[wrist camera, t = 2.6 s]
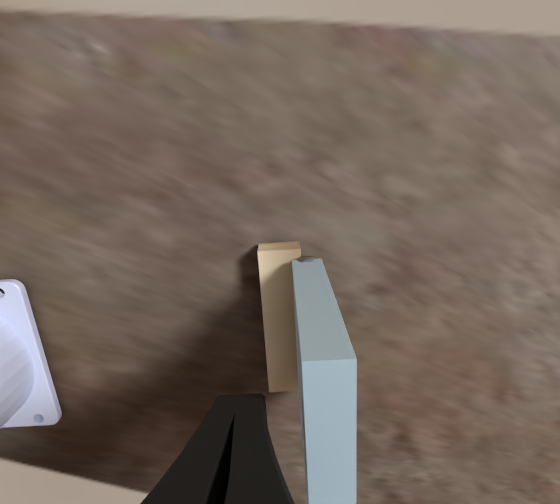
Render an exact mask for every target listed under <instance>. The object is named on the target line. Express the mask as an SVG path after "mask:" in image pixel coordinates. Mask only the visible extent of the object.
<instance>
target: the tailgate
mask: <svg viewBox="0 0 560 504" xmlns="http://www.w3.org/2000/svg"><path fill="white" fill-rule="evenodd" d="M292 273H293V292H294V310H295V329H296V347H297V366H298V384H299V400H300V413H301V427H302V440H303V454H304V467H305V480H306V494H307V504H356V371H357V359H356V356H355V353H354V350H353V347H352V344H351V342H350V339H349V336H348V333H347V330H346V327H345V324H344V321H343V319H342V316H341V313H340V310H339V307H338V304H337V301H336V299H335V296H334V293H333V290H332V287H331V284H330V281H329V279H328V276H327V273H326V270H325V267H324V264H323V261H322V259H316V258H315V257H312V256H304V257H299V258H298V259H297V260H292Z"/></svg>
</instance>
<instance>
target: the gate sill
mask: <svg viewBox="0 0 560 504" xmlns="http://www.w3.org/2000/svg"><path fill="white" fill-rule="evenodd" d="M257 252H258V264H259V276H260V288H261V300H262V312H263V324H264V336H265V348H266V360H267V372H268V384H269V392H287V391H299V384H298V366H297V347H296V329H295V310H294V292H293V273H292V260H297V259H298V258H299V257H301V248H300V243H299V241H294V242H277V243H260V244H259V246H258V251H257Z"/></svg>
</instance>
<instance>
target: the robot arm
mask: <svg viewBox="0 0 560 504" xmlns="http://www.w3.org/2000/svg"><path fill="white" fill-rule="evenodd" d="M0 288H1V289H2V290H3V291H4V292H5V294H3V293H1V291H0V428H1V427H22V426H42V425H53V424H56V423H57V422H58V421H59V419H60V418H61V416H62V412H61V408H60V405H59V402H58V398H57V395H56V391H55V388H54V384H53V381H52V378H51V374H50V371H49V367H48V364H47V360H46V357H45V354H44V350H43V347H42V343H41V340H40V336H39V333H38V330H37V326H36V323H35V319H34V316H33V312H32V309H31V306H30V302H29V299H28V295H27V292H26V289H25V287H24V285H23V284H22V283H21V282H20V281H18V280H14V279H8V280H0ZM39 414H40V415H42V416H43V417H42V416H40V415H39ZM141 504H295V503H294V501H293V499H292V497H291V494H290V492H289V490H288V487H287V485H286V482H285V480H284V477H283V475H282V472H281V469H280V467H279V464H278V461H277V458H276V455H275V452H274V448H273V445H272V442H271V438H270V435H269V431H268V426H267V415H266V403H265V397H264V396H263V395H262V394H244V395H223V396H219V397H218V398H217V399H216V400H215V402H214V404H213V405H212V407H211V409H210V410H209V412H208V414H207V415H206V417H205V418H204V420H203V422H202V423H201V425H200V426H199V428H198V429H197V431H196V432H195V434H194V435H193V437H192V438H191V439H190V441H189V442H188V444H187V445H186V447H185V448H184V449H183V451H182V452H181V454H180V455H179V456H178V458H177V459H176V460H175V462H174V463H173V464H172V466H171V467H170V468H169V469H168V471H167V472H166V473H165V475H164V476H163V477H162V478H161V480H160V481H159V482H158V483H157V485H156V486H155V487H154V488H153V490H152V491H151V492H150V493H149V494H148V495H147V497H146V498H145V499H144V500H143V502H142V503H141Z"/></svg>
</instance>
